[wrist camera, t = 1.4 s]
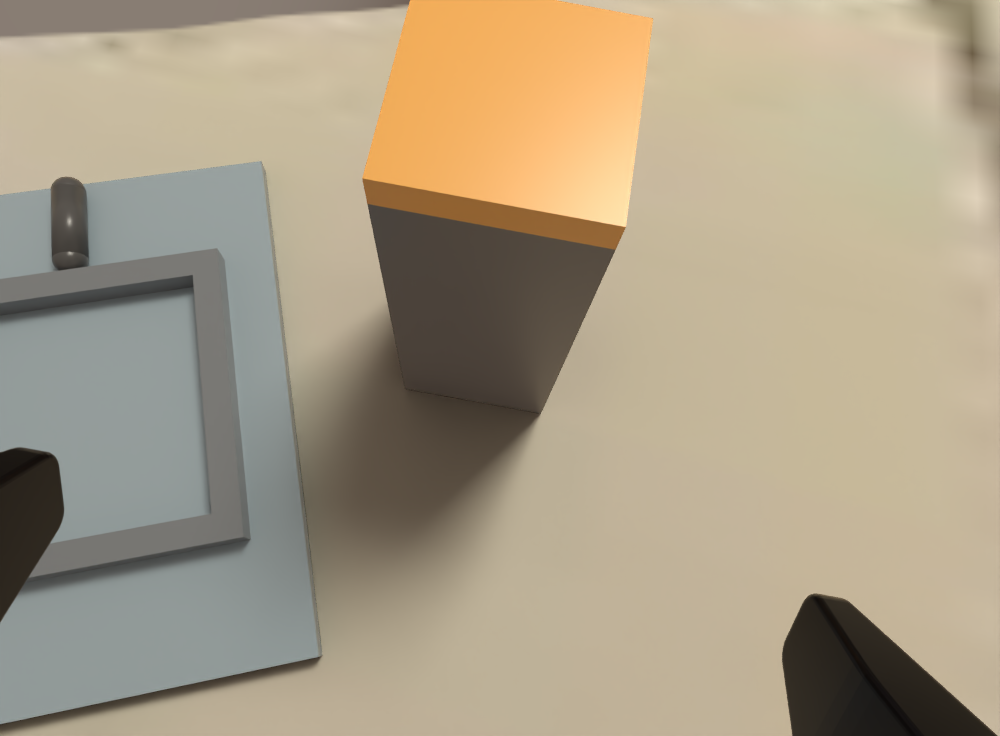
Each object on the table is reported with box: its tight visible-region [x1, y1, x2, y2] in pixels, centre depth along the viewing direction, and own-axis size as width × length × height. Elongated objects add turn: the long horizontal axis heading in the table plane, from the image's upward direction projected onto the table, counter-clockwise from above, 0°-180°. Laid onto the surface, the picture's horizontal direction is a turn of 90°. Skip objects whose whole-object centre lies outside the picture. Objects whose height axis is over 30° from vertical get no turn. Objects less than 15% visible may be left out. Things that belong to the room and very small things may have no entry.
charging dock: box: [0, 161, 322, 724], centre depth 22 cm, size 16×12×2 cm
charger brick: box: [362, 0, 653, 414], centre depth 18 cm, size 4×4×12 cm
